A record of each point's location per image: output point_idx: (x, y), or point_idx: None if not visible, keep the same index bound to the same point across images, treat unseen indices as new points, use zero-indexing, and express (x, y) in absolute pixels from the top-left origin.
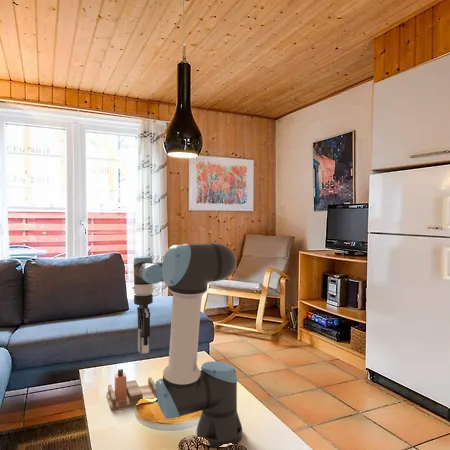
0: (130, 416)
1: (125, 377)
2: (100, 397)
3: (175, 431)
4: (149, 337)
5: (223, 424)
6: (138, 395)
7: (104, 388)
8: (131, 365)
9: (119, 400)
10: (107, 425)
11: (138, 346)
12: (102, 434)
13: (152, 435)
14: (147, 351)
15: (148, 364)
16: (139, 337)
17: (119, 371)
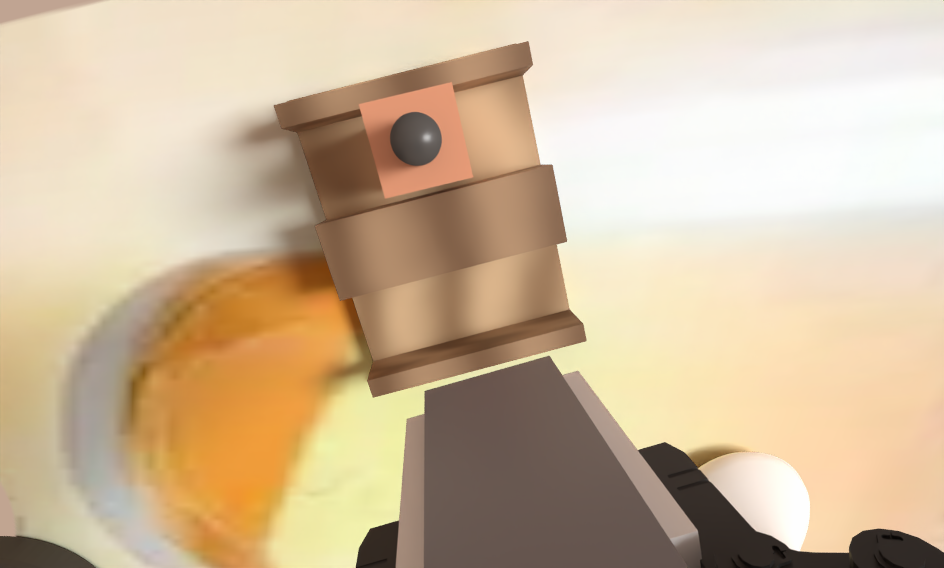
0: (212, 225)
1: (383, 190)
2: (487, 6)
3: (50, 450)
4: None
5: None
6: (332, 274)
7: (620, 18)
8: (940, 178)
9: None
10: (112, 100)
11: (535, 397)
12: (10, 82)
13: (9, 349)
14: None
15: (908, 290)
16: (477, 545)
17: (391, 131)
